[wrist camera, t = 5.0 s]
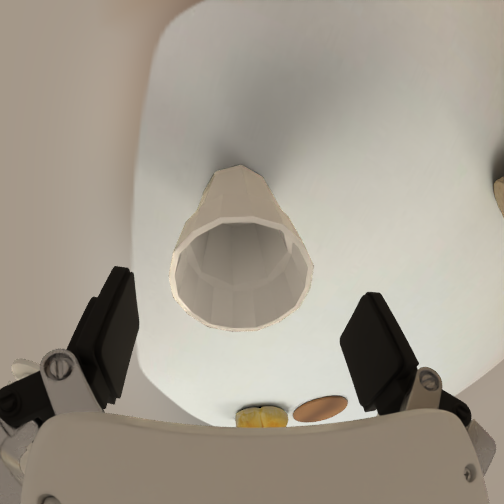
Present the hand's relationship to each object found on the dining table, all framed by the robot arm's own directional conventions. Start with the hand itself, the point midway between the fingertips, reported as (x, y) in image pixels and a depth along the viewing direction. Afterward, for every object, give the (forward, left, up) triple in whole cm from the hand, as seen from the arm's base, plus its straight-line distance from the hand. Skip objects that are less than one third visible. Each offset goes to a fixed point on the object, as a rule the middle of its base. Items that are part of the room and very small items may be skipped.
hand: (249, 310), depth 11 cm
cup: (0, 0, -13) cm, 13 cm away
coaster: (+20, -36, -13) cm, 43 cm away
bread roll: (+9, -37, -13) cm, 41 cm away
